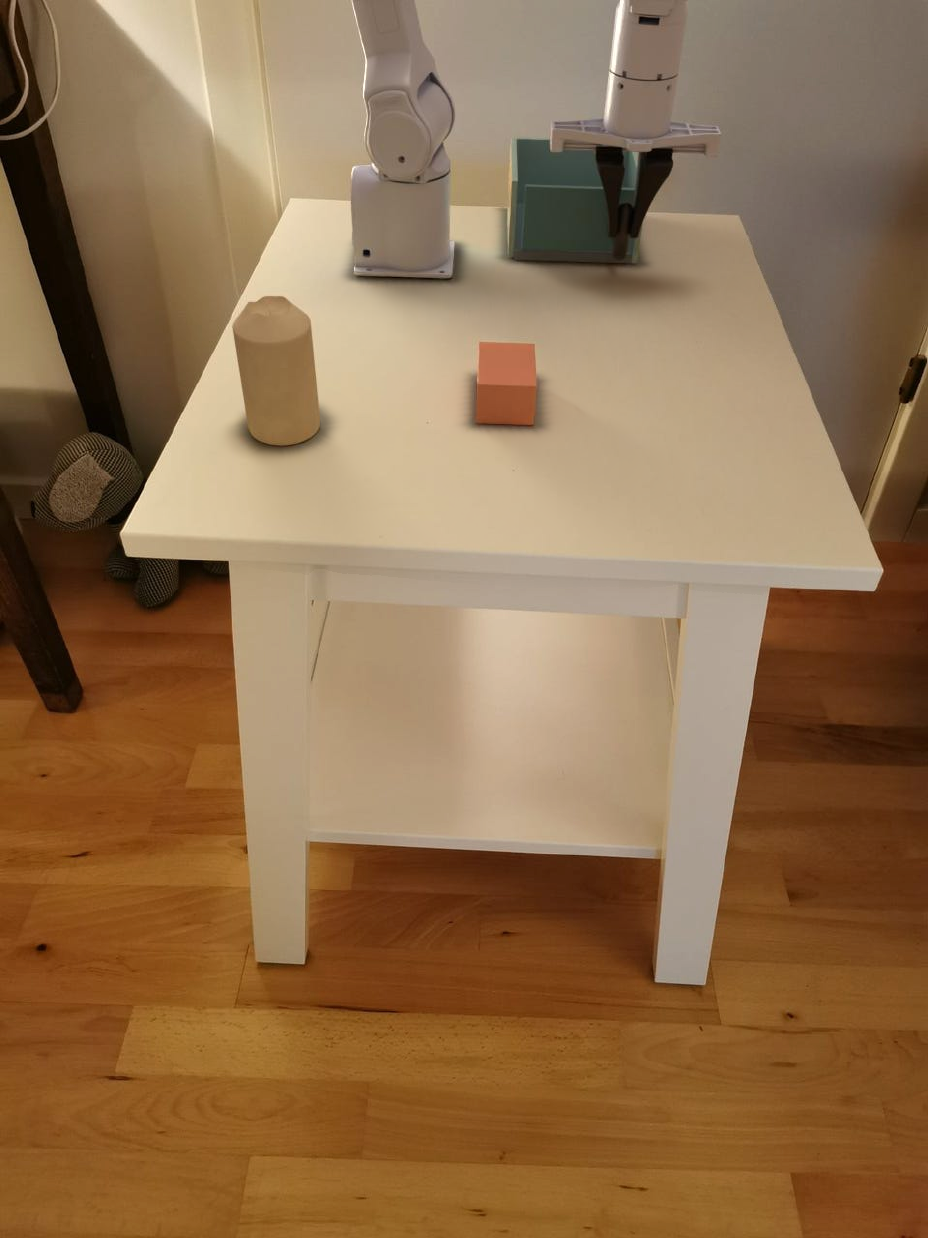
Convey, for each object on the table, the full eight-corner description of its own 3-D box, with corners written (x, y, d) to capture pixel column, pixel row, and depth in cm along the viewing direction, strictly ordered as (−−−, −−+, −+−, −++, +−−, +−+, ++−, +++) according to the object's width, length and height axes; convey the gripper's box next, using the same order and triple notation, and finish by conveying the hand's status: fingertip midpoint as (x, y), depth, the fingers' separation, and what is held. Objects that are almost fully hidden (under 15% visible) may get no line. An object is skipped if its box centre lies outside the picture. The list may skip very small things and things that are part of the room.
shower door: (522, 270, 92) (526, 202, 88) (521, 246, 96) (525, 179, 92) (632, 274, 92) (642, 205, 88) (627, 249, 96) (636, 183, 92)
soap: (476, 423, 76) (477, 383, 73) (477, 380, 80) (478, 341, 78) (533, 425, 76) (536, 385, 73) (531, 381, 80) (534, 343, 78)
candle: (307, 450, 73) (294, 327, 66) (237, 441, 73) (217, 317, 66) (329, 411, 76) (319, 290, 69) (263, 402, 77) (245, 282, 70)
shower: (507, 259, 97) (511, 182, 92) (507, 209, 106) (510, 136, 101) (636, 263, 97) (648, 186, 92) (625, 212, 106) (634, 139, 101)
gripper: (558, 82, 78) (545, 248, 87) (739, 87, 78) (706, 253, 87) (554, 57, 83) (542, 217, 92) (724, 62, 83) (695, 221, 92)
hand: (621, 233), depth 90 cm, fingers closed on shower door
